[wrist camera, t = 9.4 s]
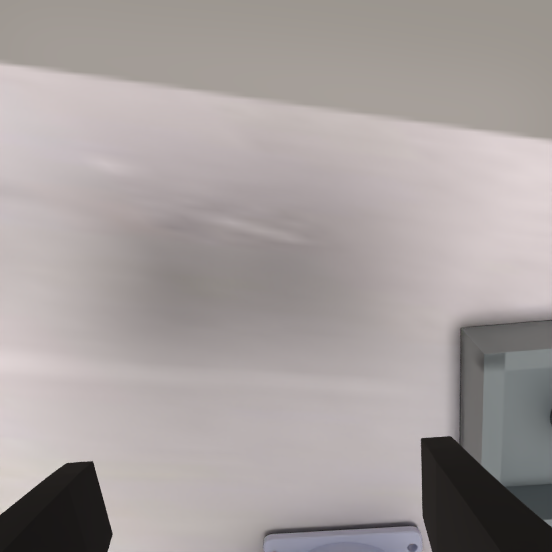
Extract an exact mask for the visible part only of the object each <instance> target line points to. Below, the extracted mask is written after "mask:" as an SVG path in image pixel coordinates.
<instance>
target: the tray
mask: <svg viewBox="0 0 552 552" xmlns="http://www.w3.org/2000/svg"><path fill="white" fill-rule="evenodd" d="M551 410H552V320H549V321H537V322H525V323H514V324H502V325H490V326H478V327H467V328H461V376H460V445H461V446H462V447H463V448H464V449H465V450H466V451H467V452H468V453H469V454H470V455H471V456H472V457H473V458H474V459H475V460H476V461H478V462H479V463H480V464H481V465H482V466H483V467H484V468H485V469H486V470H487V471H488V472H489V473H490V474H491V475H493V476H494V477H495V478H496V479H497V480H498V481H499V482H500V483H501V484H502V485H503V486H505V487H506V488H507V489H508V490H509V491H510V492H511V493H512V494H514V495H515V496H516V497H517V498H518V499H519V500H520V501H522V502H523V503H524V504H525V505H526V506H527V507H529V508H530V509H531V510H532V511H533V512H534V513H535V514H537V515H538V516H539V517H540V518H541V519H542V520H544V521H545V522H546V523H547V524H548V525H550V526H551V527H552V425H551V423H550V413H551Z"/></svg>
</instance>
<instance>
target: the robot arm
mask: <svg viewBox="0 0 552 552" xmlns="http://www.w3.org/2000/svg"><path fill="white" fill-rule="evenodd" d="M421 461H422V510H423V519H424V523H425V527H426V530H427V534H428V538H429V541H430V545H431V549H432V552H552V527H551V526H550V525H548V524H547V523H546V522H545V521H544V520H542V519H541V518H540V517H539V516H538V515H537V514H535V513H534V512H533V511H532V510H531V509H530V508H529V507H527V506H526V505H525V504H524V503H523V502H522V501H520V500H519V499H518V498H517V497H516V496H515V495H514V494H512V493H511V492H510V491H509V490H508V489H507V488H506V487H505V486H503V485H502V484H501V483H500V482H499V481H498V480H497V479H496V478H495V477H494V476H493V475H491V474H490V473H489V472H488V471H487V470H486V469H485V468H484V467H483V466H482V465H481V464H480V463H479V462H478V461H476V460H475V459H474V458H473V457H472V456H471V455H470V454H469V453H468V452H467V451H466V450H465V449H464V448H463V447H462V446H461V445H460V444H459V443H457V442H456V441H455V440H454V439H453V438H452V437H451V436H447V437H433V438H421ZM112 535H113V534H112V530H111V526H110V522H109V519H108V515H107V511H106V508H105V504H104V500H103V497H102V493H101V489H100V486H99V482H98V478H97V474H96V471H95V467H94V463H93V461H90V462H76V463H66V464H65V465H63V466H62V467H61V468H59V469H58V470H56V471H55V472H54V473H52V474H51V475H50V476H48V477H47V478H46V479H45V480H43V481H42V482H41V483H40V484H38V485H37V486H36V487H35V488H33V489H32V490H31V491H30V492H28V493H27V494H26V495H25V496H23V497H22V498H21V499H20V500H18V501H17V502H16V503H15V504H13V505H12V506H11V507H10V508H8V509H7V510H6V511H5V512H3V513H2V514H1V515H0V552H108V548H109V545H110V541H111V538H112ZM409 544H413V545H409ZM263 549H264V552H272V551H276V552H422V536H421V533H420V530H419V529H418V528H416V527H414V526H404V527H386V528H369V529H351V530H334V531H316V532H299V533H282V534H270V535H268V536H266V537H265V538H264V544H263Z"/></svg>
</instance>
